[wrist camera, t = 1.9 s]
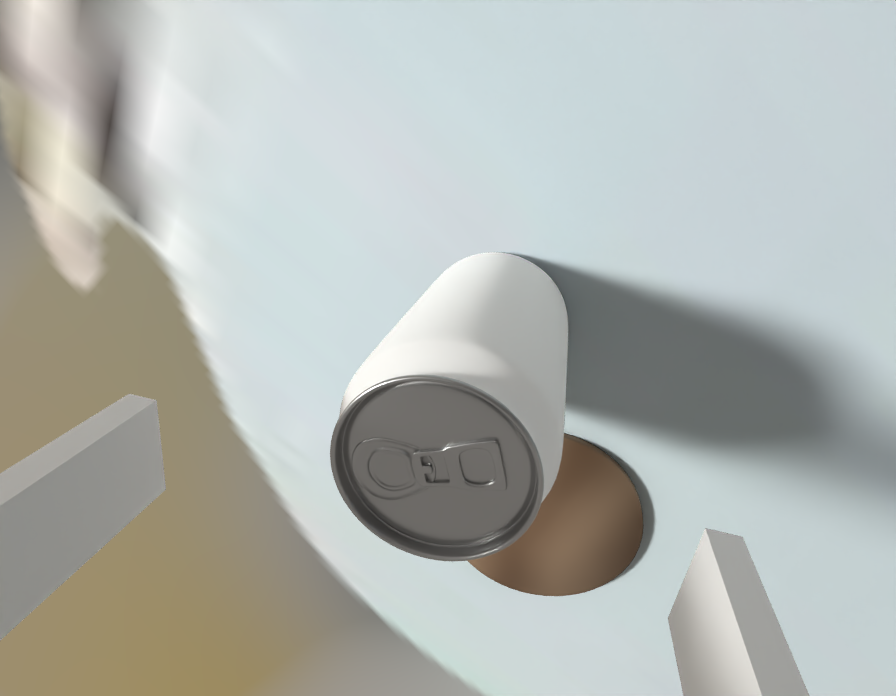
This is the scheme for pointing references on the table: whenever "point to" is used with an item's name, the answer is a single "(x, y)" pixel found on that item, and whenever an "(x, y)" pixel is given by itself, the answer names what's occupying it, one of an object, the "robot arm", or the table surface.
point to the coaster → (574, 529)
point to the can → (459, 413)
